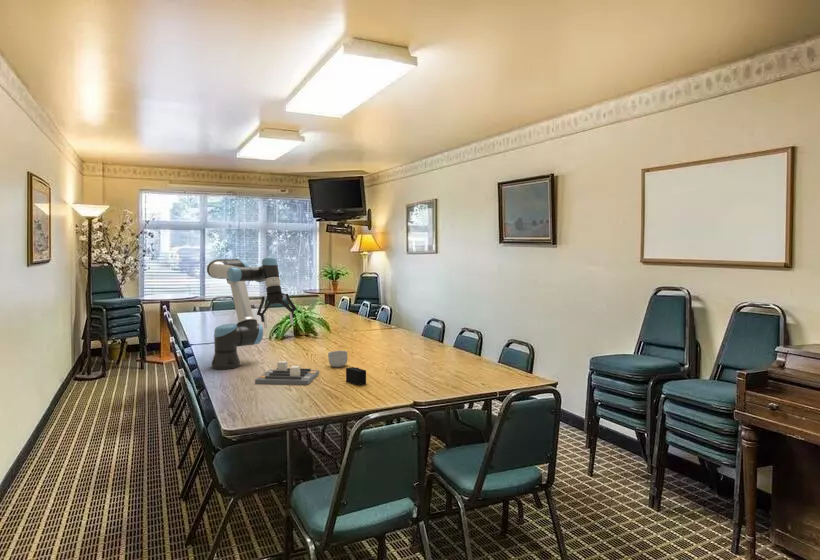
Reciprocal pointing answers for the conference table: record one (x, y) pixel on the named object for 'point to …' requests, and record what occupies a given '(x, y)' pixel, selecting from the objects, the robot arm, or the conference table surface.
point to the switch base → (287, 377)
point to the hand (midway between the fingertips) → (279, 326)
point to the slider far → (282, 366)
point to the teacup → (337, 358)
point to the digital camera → (356, 376)
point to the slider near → (295, 371)
